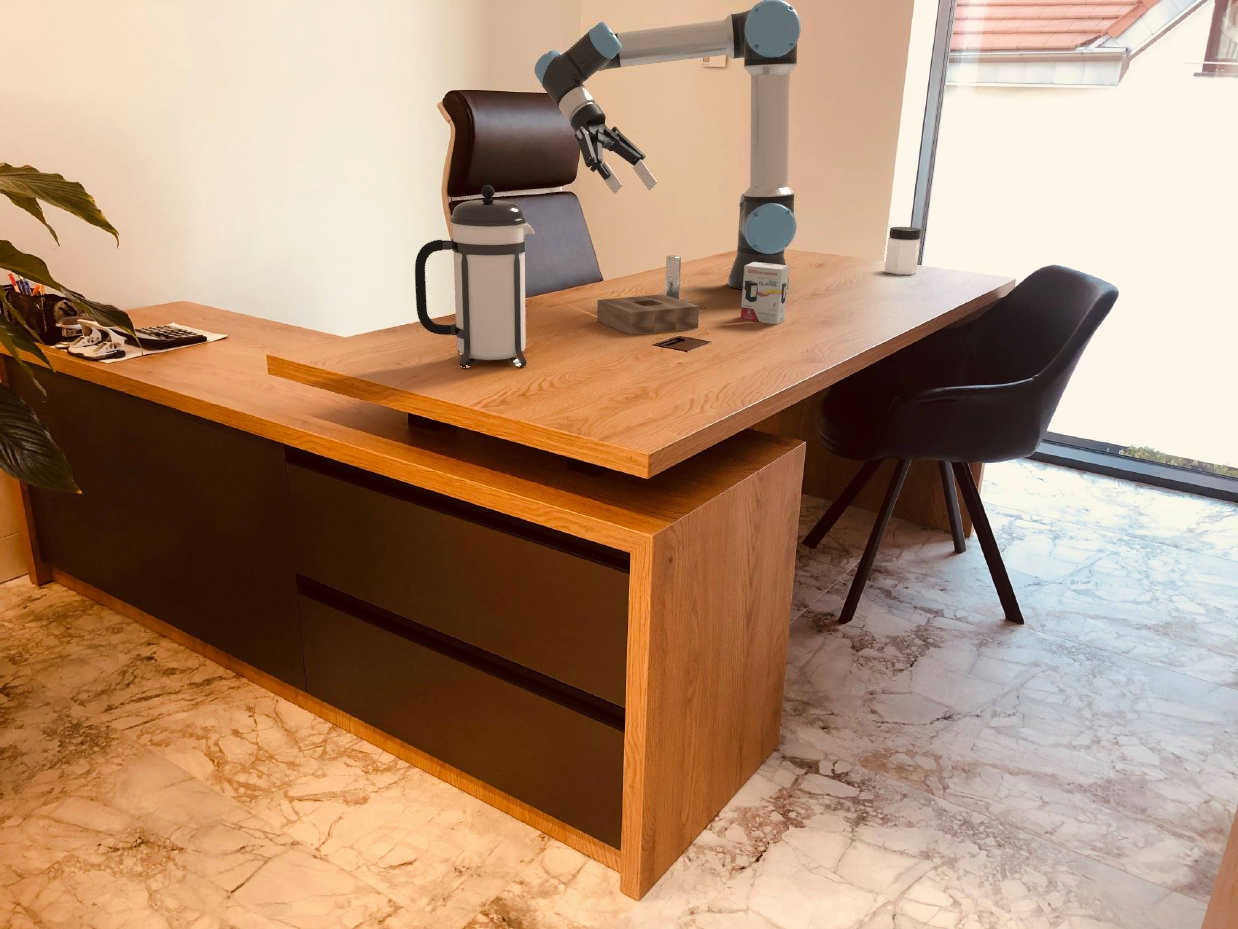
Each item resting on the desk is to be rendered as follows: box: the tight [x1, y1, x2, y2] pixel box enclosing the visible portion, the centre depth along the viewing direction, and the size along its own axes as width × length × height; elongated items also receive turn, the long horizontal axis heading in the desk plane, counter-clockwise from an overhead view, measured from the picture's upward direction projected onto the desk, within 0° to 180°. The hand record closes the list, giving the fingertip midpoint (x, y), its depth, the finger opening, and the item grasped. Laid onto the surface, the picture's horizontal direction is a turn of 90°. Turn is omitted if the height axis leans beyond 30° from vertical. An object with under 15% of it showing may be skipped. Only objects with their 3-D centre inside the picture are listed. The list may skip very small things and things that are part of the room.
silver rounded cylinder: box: [664, 254, 682, 300], centre depth 224 cm, size 3×3×11 cm
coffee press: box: [414, 184, 536, 369], centre depth 172 cm, size 17×16×30 cm
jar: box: [884, 226, 922, 276], centre depth 278 cm, size 9×8×12 cm
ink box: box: [740, 262, 790, 325], centre depth 213 cm, size 9×5×12 cm, turn 62°
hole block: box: [596, 293, 700, 336], centre depth 208 cm, size 16×14×4 cm
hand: (636, 187), depth 222 cm, fingers open, 13 cm apart
